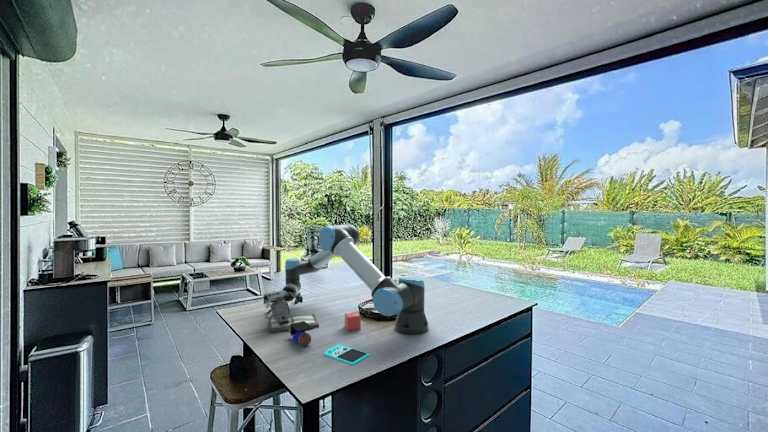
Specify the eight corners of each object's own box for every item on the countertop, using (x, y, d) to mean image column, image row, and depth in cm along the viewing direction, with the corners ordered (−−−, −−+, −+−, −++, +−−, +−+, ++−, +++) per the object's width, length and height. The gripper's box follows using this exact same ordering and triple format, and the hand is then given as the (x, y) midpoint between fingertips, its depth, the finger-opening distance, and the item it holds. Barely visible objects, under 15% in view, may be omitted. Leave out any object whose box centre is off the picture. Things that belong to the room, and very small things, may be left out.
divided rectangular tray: (318, 327, 159) (318, 323, 159) (268, 333, 152) (268, 329, 152) (314, 316, 174) (314, 313, 174) (268, 321, 167) (268, 318, 167)
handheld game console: (339, 346, 139) (339, 343, 139) (370, 356, 130) (370, 353, 130) (321, 355, 131) (321, 352, 131) (353, 367, 122) (353, 363, 122)
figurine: (263, 323, 162) (259, 291, 161) (288, 316, 167) (284, 286, 166) (266, 329, 154) (262, 296, 153) (292, 322, 159) (288, 291, 158)
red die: (360, 329, 156) (360, 315, 156) (347, 330, 154) (347, 317, 154) (357, 324, 162) (357, 311, 162) (344, 326, 160) (344, 313, 160)
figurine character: (287, 340, 148) (298, 349, 135) (286, 322, 148) (297, 329, 136) (302, 336, 152) (315, 345, 139) (301, 319, 152) (314, 325, 139)
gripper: (312, 299, 180) (305, 312, 158) (266, 300, 178) (253, 314, 156) (311, 284, 180) (305, 296, 158) (265, 285, 178) (252, 297, 156)
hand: (279, 305), depth 157 cm, fingers open, 11 cm apart
